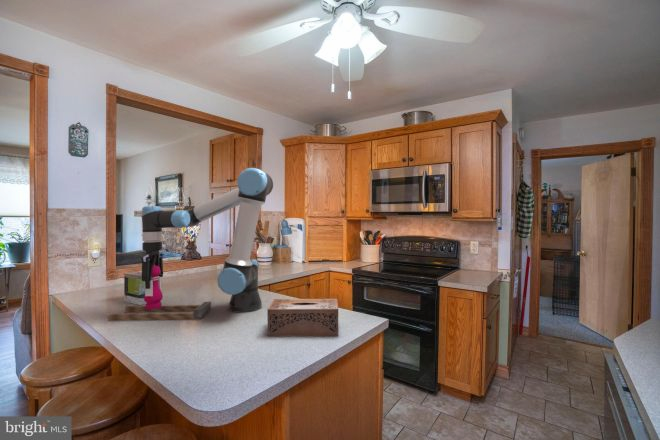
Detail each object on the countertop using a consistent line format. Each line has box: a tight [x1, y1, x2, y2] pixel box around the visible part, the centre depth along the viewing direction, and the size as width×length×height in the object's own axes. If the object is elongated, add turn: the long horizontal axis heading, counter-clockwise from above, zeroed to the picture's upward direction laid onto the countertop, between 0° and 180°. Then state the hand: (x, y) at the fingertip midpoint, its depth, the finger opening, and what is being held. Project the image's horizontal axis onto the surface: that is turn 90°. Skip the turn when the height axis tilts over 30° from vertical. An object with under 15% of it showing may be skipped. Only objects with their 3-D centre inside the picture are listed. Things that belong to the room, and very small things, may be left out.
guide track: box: [107, 301, 212, 322], centre depth 139 cm, size 38×13×4 cm, turn 92°
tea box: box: [123, 270, 147, 306], centre depth 162 cm, size 15×10×15 cm, turn 58°
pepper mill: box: [144, 265, 163, 309], centre depth 139 cm, size 7×7×20 cm
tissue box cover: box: [266, 298, 339, 337], centre depth 122 cm, size 26×14×10 cm, turn 90°
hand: (153, 293), depth 139 cm, fingers closed on pepper mill, 6 cm apart
